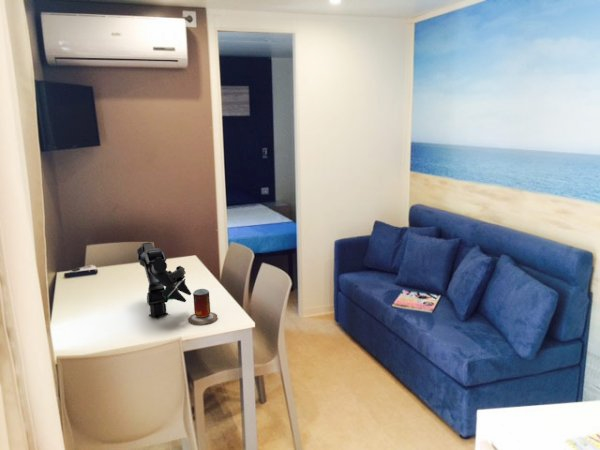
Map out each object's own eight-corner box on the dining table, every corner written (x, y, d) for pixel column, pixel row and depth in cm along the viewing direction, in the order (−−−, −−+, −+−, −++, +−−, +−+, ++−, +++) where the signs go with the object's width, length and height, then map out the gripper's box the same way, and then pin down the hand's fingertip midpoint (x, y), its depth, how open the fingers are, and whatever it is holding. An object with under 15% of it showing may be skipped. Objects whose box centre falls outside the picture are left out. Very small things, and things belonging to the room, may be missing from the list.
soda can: (198, 313, 232) (196, 287, 229) (213, 314, 230) (211, 288, 228) (192, 318, 225) (190, 292, 222) (207, 319, 223) (205, 293, 221)
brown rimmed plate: (201, 327, 218) (201, 324, 218) (182, 321, 226) (182, 318, 226) (223, 318, 228) (223, 315, 228) (204, 312, 236) (204, 309, 236)
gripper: (167, 268, 214) (194, 292, 215) (179, 257, 232) (204, 279, 234) (150, 286, 216) (178, 310, 217) (163, 273, 234) (188, 295, 236)
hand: (188, 297), depth 226 cm, fingers open, 9 cm apart
